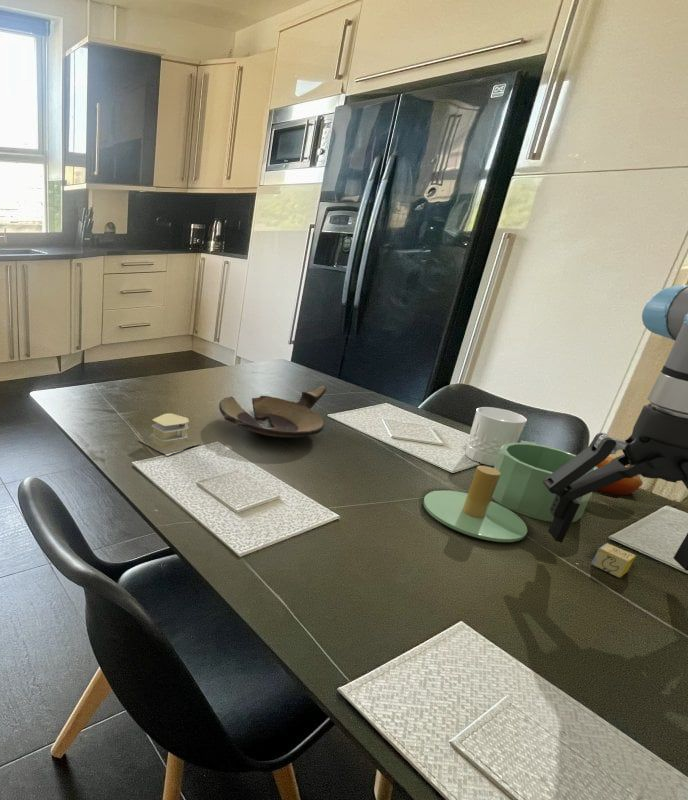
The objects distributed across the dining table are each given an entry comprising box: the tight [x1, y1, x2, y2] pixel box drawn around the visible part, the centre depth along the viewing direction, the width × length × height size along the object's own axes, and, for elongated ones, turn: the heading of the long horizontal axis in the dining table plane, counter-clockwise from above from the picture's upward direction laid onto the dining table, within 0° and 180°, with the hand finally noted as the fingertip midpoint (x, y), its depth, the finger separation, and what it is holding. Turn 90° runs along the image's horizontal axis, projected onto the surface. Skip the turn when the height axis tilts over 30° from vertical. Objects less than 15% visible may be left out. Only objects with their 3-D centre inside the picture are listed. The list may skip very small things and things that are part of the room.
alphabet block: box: [590, 542, 637, 579], centre depth 69 cm, size 3×3×3 cm
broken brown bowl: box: [218, 385, 328, 438], centre depth 111 cm, size 22×30×8 cm
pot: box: [491, 440, 598, 523], centre depth 84 cm, size 13×18×8 cm
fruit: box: [596, 454, 644, 499], centre depth 88 cm, size 8×8×8 cm
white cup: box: [465, 406, 528, 467], centre depth 98 cm, size 8×8×10 cm
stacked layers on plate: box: [150, 412, 190, 448], centre depth 104 cm, size 10×9×6 cm
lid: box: [422, 465, 528, 543], centre depth 78 cm, size 14×14×9 cm
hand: (616, 550), depth 68 cm, fingers open, 13 cm apart
